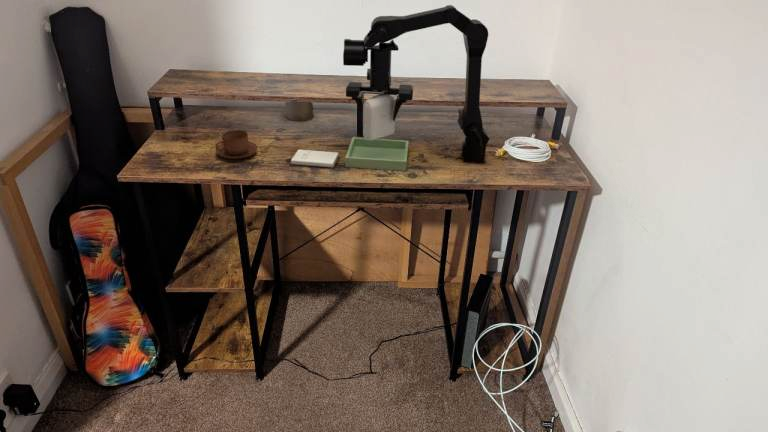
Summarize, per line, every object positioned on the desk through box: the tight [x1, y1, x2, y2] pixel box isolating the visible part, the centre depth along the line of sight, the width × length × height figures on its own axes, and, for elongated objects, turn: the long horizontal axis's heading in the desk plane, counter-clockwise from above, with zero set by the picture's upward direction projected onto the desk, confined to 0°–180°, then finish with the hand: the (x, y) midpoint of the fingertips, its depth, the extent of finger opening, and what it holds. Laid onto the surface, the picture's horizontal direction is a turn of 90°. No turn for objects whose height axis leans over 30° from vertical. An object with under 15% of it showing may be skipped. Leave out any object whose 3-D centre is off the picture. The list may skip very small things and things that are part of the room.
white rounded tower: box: [362, 94, 396, 141], centre depth 149 cm, size 10×4×12 cm, turn 129°
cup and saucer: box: [215, 129, 258, 160], centre depth 152 cm, size 12×12×6 cm
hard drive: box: [290, 149, 340, 169], centre depth 151 cm, size 2×8×12 cm
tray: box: [344, 136, 409, 172], centre depth 154 cm, size 18×16×3 cm
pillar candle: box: [284, 101, 314, 122], centre depth 180 cm, size 10×10×15 cm
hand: (379, 120), depth 150 cm, fingers closed on white rounded tower, 8 cm apart
